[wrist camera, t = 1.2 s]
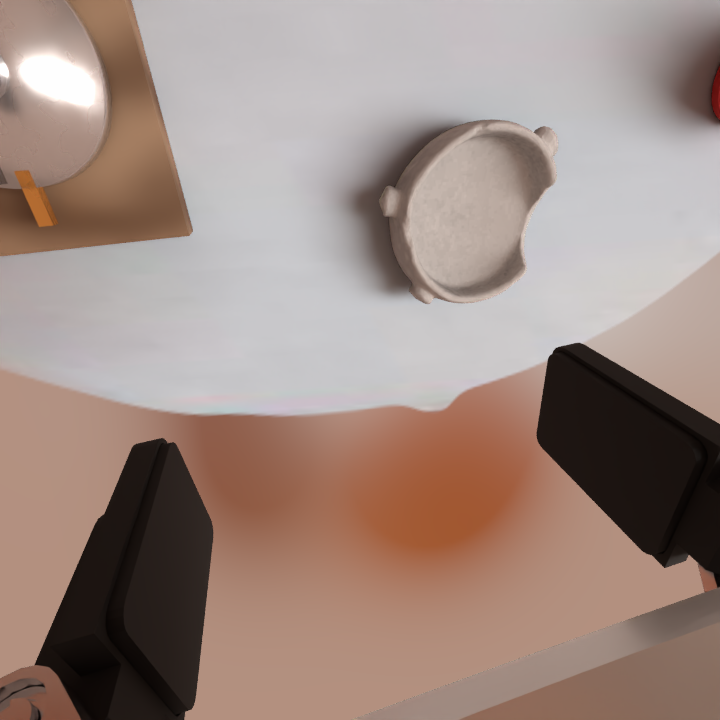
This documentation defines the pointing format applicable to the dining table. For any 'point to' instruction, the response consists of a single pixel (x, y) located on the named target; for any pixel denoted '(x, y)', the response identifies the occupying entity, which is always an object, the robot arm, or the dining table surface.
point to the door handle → (49, 99)
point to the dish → (469, 208)
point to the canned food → (716, 94)
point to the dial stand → (110, 159)
